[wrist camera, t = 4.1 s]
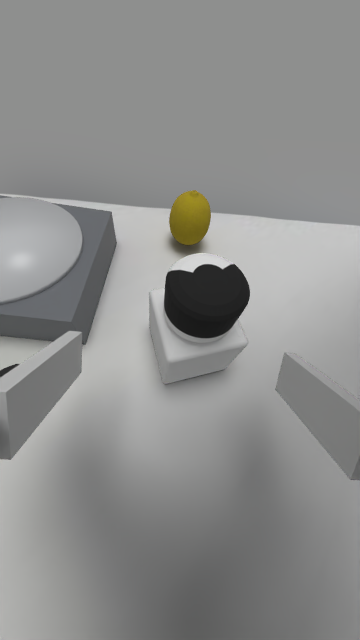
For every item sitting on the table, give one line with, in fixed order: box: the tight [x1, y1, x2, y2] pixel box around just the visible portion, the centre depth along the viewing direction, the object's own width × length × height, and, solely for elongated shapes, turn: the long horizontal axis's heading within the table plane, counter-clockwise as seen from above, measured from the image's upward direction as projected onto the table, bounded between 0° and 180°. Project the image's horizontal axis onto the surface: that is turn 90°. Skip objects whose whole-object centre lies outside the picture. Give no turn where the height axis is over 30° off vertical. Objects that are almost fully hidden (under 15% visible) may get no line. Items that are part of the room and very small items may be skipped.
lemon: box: [169, 190, 211, 245], centre depth 30 cm, size 6×6×8 cm
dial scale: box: [0, 196, 117, 344], centre depth 25 cm, size 18×17×6 cm
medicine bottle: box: [149, 253, 250, 384], centre depth 20 cm, size 7×7×12 cm
